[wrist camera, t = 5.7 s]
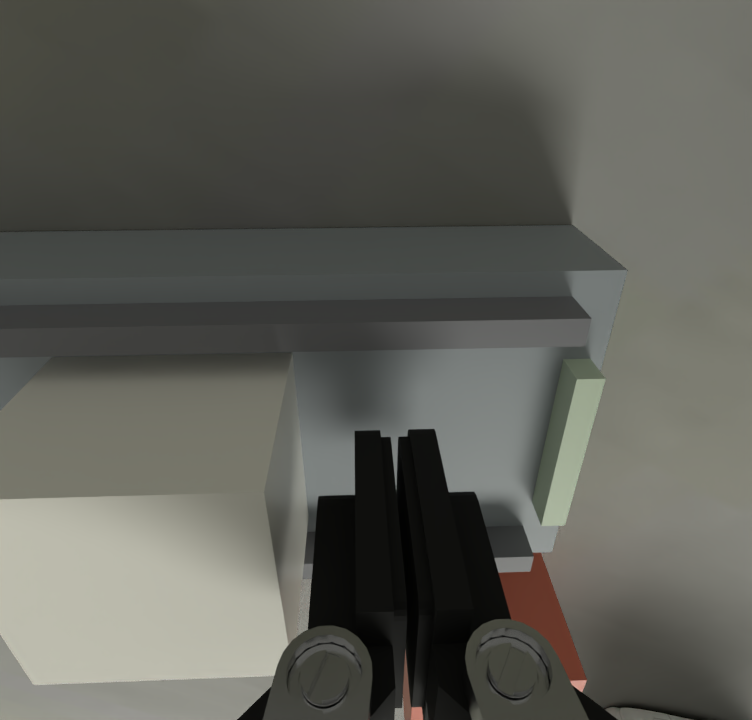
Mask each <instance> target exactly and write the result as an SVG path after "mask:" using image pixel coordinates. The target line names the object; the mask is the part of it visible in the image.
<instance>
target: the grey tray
mask: <svg viewBox="0 0 752 720" xmlns="http://www.w3.org/2000/svg"><path fill="white" fill-rule="evenodd" d="M627 271H628V270H627V269H626V268H625V267H623V266H622V265H621V264H620V263H618V262H617V261H616V260H615V259H614V258H612V257H611V256H610V255H609V254H607V253H606V252H605V251H604V250H603V249H601V248H600V247H599V246H598V245H597V244H595V243H594V242H593V241H592V240H590V239H589V238H588V237H587V236H586V235H584V234H583V233H582V232H581V231H579V230H578V229H577V228H576V227H575V226H573V225H541V226H457V227H374V228H290V229H207V230H123V231H40V232H0V411H1V410H2V408H3V407H4V406H5V405H6V404H7V403H8V402H9V401H10V400H11V399H12V398H13V397H14V396H15V395H16V394H17V393H18V392H19V391H20V390H21V389H22V388H23V387H24V386H25V385H26V384H27V383H28V382H29V381H30V380H31V379H32V378H33V376H34V375H35V374H36V373H37V372H38V371H39V370H40V369H41V368H42V367H43V366H44V365H45V364H46V363H47V362H48V361H49V360H50V359H51V358H52V357H91V356H143V355H195V354H247V353H292V356H293V366H294V376H295V386H296V396H297V406H298V416H299V426H300V436H301V446H302V456H303V466H304V476H305V486H306V496H307V506H308V527H307V537H306V547H305V558H304V568H303V578H302V579H312V569H313V556H314V542H315V529H316V515H317V503H318V496H331V495H355V431H364V430H380V433H381V437H391V444H392V454H393V464H394V474H395V484H396V486H397V456H398V437H404V436H407V435H408V430H409V429H435V432H436V436H437V440H438V445H439V450H440V454H441V459H442V464H443V468H444V473H445V477H446V482H447V487H448V491H449V492H475V494H476V495H477V498H478V501H479V505H480V508H481V512H482V515H483V519H484V523H485V526H486V530H487V533H488V537H489V541H490V544H491V548H492V551H493V555H494V559H495V562H496V566H497V569H498V573H502V572H530V571H531V567H532V563H533V558H534V555H533V553H541V552H552V550H553V546H554V542H555V539H556V535H557V531H558V527H559V526H563V525H565V524H566V520H567V516H568V513H569V509H570V506H571V502H572V498H573V495H574V491H575V488H576V484H577V480H578V477H579V473H580V470H581V466H582V462H583V459H584V455H585V451H586V448H587V444H588V441H589V437H590V433H591V430H592V426H593V423H594V419H595V415H596V412H597V408H598V405H599V401H600V397H601V394H602V390H603V387H604V383H605V377H604V376H603V375H602V373H601V372H600V371H601V368H602V364H603V360H604V356H605V353H606V349H607V345H608V342H609V338H610V334H611V330H612V327H613V323H614V319H615V315H616V312H617V308H618V304H619V301H620V297H621V293H622V289H623V286H624V282H625V278H626V275H627Z"/></svg>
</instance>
